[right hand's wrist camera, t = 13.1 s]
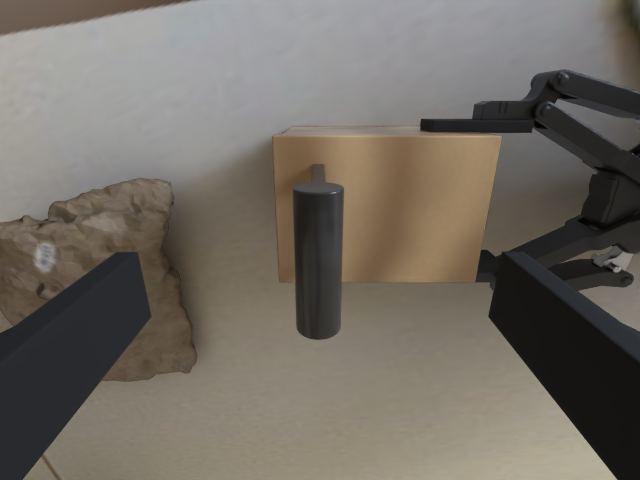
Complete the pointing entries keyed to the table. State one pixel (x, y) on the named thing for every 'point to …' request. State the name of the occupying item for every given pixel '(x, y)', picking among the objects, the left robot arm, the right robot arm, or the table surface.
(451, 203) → the lid
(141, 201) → the stone
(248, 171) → the table surface
